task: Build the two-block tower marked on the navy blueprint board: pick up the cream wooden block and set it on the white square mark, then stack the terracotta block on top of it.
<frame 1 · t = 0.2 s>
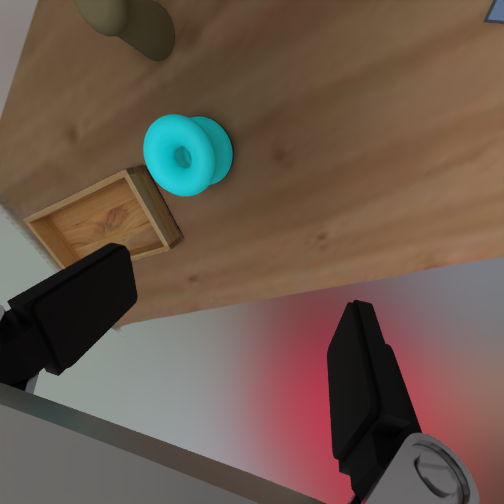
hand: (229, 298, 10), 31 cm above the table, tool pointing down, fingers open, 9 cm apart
cork: (155, 33, 32), on the table
tray: (113, 223, 50), on the table
donuts: (206, 151, 38), on the table
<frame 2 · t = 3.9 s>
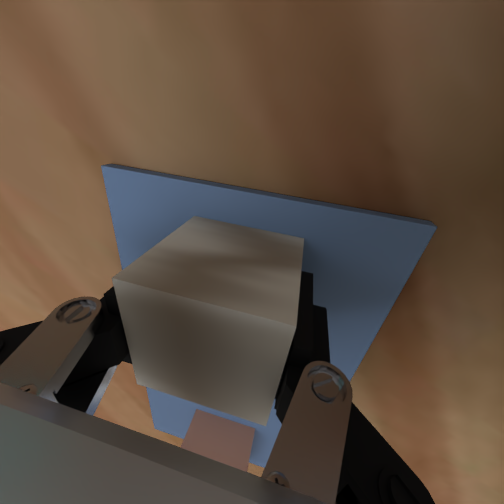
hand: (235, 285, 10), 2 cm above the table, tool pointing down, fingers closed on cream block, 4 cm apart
cream block: (242, 272, 11), point 1 cm above the table, touching blueprint board, gripper
terracotta block: (223, 432, 20), point 1 cm above the table, touching blueprint board
blueprint board: (233, 366, 16), on the table
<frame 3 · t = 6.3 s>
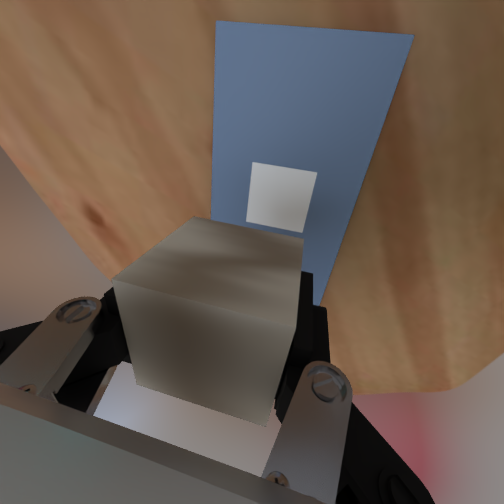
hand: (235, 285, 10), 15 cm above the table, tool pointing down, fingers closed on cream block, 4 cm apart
cream block: (241, 273, 11), point 14 cm above the table, touching gripper
blueprint board: (279, 197, 23), on the table
when the fingers open (3 cm above the table, at t = 8.8 s): cream block stays where it is, resting on blueprint board.
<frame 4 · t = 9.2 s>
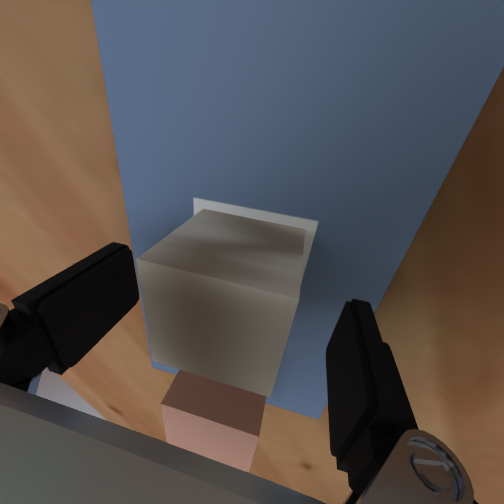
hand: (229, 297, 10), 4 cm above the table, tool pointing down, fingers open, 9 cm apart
cream block: (246, 262, 12), point 1 cm above the table, touching blueprint board
terracotta block: (234, 361, 17), point 1 cm above the table, touching blueprint board
blueprint board: (249, 256, 13), on the table
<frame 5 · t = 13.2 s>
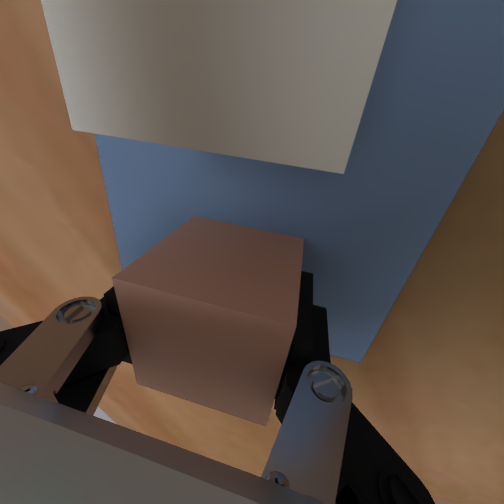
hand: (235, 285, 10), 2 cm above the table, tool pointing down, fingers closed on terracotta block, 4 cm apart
cream block: (267, 46, 7), point 1 cm above the table, touching blueprint board
terracotta block: (242, 272, 11), point 1 cm above the table, touching blueprint board, gripper
blueprint board: (270, 54, 8), on the table
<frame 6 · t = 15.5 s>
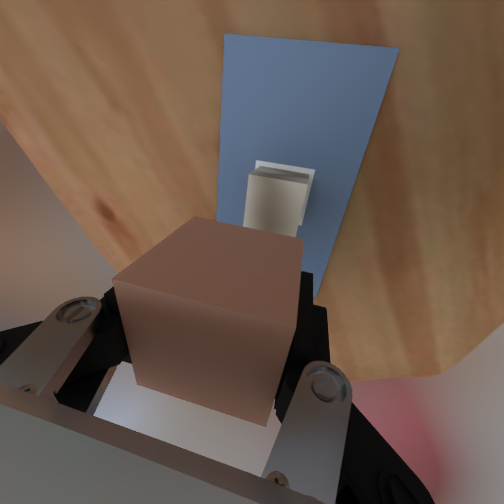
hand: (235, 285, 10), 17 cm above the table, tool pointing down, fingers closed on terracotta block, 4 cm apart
cream block: (279, 194, 25), point 1 cm above the table, touching blueprint board
terracotta block: (241, 273, 11), point 16 cm above the table, touching gripper
blueprint board: (280, 192, 25), on the table
when the fingers open (8 cm above the table, at t = 18.0 s): terracotta block drops 1 cm, resting on cream block.
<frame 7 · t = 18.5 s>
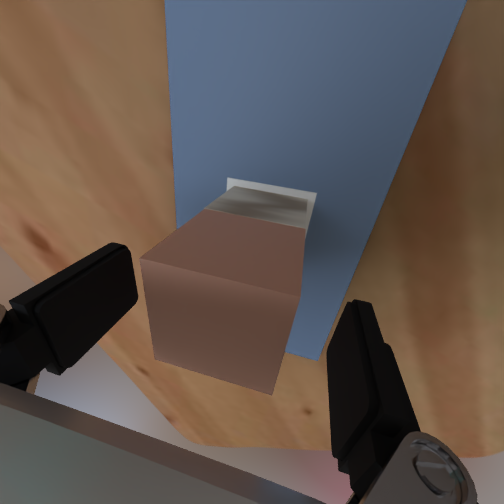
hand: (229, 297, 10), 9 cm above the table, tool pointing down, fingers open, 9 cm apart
cream block: (264, 226, 17), point 1 cm above the table, touching blueprint board, terracotta block
terracotta block: (248, 262, 12), point 6 cm above the table, touching cream block
blueprint board: (266, 223, 17), on the table
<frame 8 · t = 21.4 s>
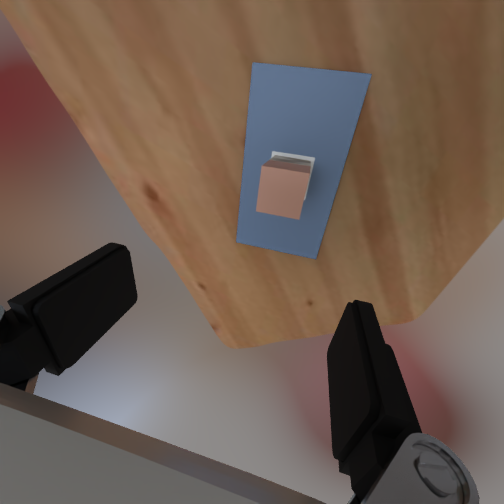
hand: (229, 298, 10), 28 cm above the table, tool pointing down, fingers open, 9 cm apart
cream block: (289, 176, 33), point 1 cm above the table, touching blueprint board, terracotta block
terracotta block: (285, 183, 29), point 6 cm above the table, touching cream block
blueprint board: (289, 175, 34), on the table
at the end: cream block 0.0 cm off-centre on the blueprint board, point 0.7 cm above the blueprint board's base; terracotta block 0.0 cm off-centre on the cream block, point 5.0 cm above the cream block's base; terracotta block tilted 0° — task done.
